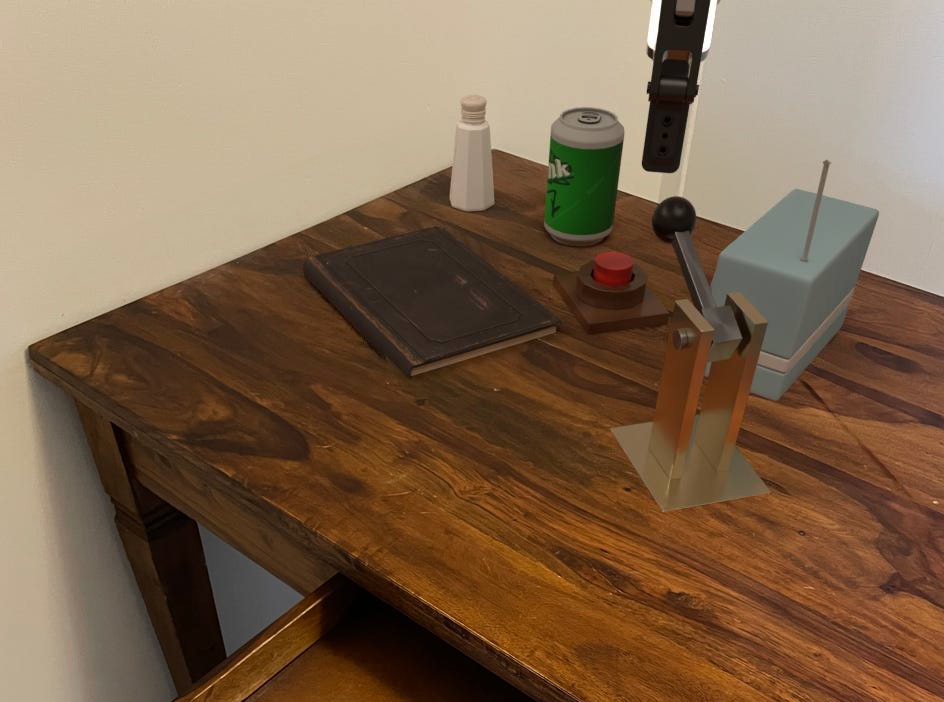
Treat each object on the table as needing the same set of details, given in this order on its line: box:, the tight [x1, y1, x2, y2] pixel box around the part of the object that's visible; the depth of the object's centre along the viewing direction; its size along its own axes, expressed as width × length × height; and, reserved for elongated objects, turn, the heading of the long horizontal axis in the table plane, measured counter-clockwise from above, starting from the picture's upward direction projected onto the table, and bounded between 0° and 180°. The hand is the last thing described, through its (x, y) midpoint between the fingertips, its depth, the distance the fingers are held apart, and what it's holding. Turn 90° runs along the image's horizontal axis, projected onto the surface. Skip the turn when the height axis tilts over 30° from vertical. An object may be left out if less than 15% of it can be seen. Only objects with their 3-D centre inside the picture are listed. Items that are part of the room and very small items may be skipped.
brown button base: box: [552, 259, 670, 336], centre depth 91 cm, size 10×8×4 cm
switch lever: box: [651, 195, 742, 362], centre depth 68 cm, size 13×3×3 cm, turn 15°
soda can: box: [543, 106, 625, 247], centre depth 100 cm, size 8×8×12 cm
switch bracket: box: [609, 292, 772, 513], centre depth 71 cm, size 11×9×14 cm
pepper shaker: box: [448, 94, 496, 213], centre depth 106 cm, size 5×5×11 cm
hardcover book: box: [302, 224, 563, 380], centre depth 92 cm, size 16×23×2 cm
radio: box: [704, 159, 880, 402], centre depth 80 cm, size 16×9×20 cm, turn 145°
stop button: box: [593, 251, 634, 286], centre depth 89 cm, size 4×4×2 cm
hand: (662, 143), depth 59 cm, fingers open, 8 cm apart
